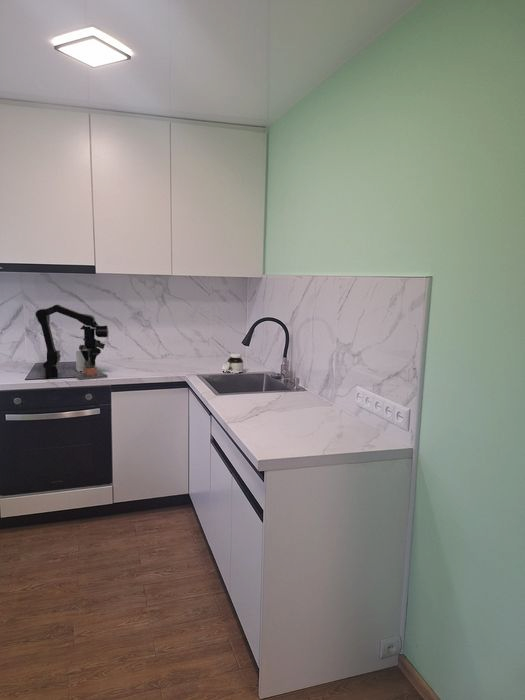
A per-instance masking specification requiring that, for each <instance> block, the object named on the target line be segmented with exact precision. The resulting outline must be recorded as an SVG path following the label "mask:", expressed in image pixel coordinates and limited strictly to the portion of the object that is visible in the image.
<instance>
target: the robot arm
mask: <svg viewBox="0 0 525 700" xmlns="http://www.w3.org/2000/svg"><path fill="white" fill-rule="evenodd" d="M55 313H59V314H61V315H64V316H66V317H69V318H72V319H75V320H77V321H78V322H80V323H81V324H83V325H82V326H81V327H80V328H79V329H80V330H83V338H82V339H83V340H82V341H84V342H83V344H80V345H79V346H78V351H81V353H82V355H83V357H84V359H85V361H88V360H89V358H90V361H91V364H92V365H94V363H95V364H96V359H97V357H98V355H101V353H102V350H104V348H105V346H106V344H105V343H102V342H101V340H99V339H96V338H95V337H97V338H108V337H109V328H108V325H99V324H98V323H97V322H96V318H95V316H94V315H92V314H87V313H80V312H77V311H75V310H72V309H69V308H67V307H65V306H62V305H60V304H54V305H53V306H51V307H48V308H41V309H38V310H36V312H35V317H36V320H37V321H38V323H39V324H40V326H41V330H42V335H43V337H44V343H45V346H46V361H45V362H44V363H43V364H42V366H43V375H42V377H43V378H45V379H53V378H55V377H56V378H59V376H58V375H59V373H58V370H59V369H58V367H57V365H58V363H59V362H60V361H61V358H62V355H61V353H60V352H61V351H60V350H59V349H58V350H57V349H56V346H55V342H54V337H53V334H52V330H51V326H50V319H51V315H53V314H55ZM101 349H102V350H101Z"/></svg>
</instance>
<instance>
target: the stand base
mask: <svg viewBox="0 0 525 700" xmlns="http://www.w3.org/2000/svg"><path fill="white" fill-rule="evenodd" d="M74 377H75V378H74ZM72 378H74V379H76V378H77V381H86V380H87V381H88V380H95V379H104V378H105V379H106V378H108V374H106V373H104V372H102V371H98V367H97V366H96V365H95V366H94V367H91V368H88V367H83V372H81V373H73V374H72Z"/></svg>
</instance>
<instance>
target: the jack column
mask: <svg viewBox="0 0 525 700" xmlns="http://www.w3.org/2000/svg"><path fill="white" fill-rule="evenodd" d="M94 366H95V367H96V362H95V363H94V365H92V364H91V361H85V367H88V368H91V367H94Z"/></svg>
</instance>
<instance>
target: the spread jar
mask: <svg viewBox="0 0 525 700" xmlns="http://www.w3.org/2000/svg"><path fill="white" fill-rule="evenodd" d="M229 356H230V357H229V358H228V359H227V362H224V363H223V364H222V367H221V370H222V369H225V371H227V372H229V371H228V370H231V371H241V370H243V371H244V360H243V358H242V355H241V354H240V353H231V354H229Z"/></svg>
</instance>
